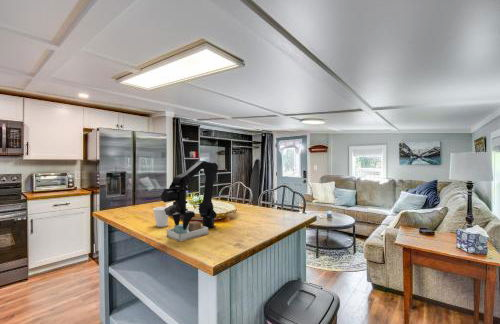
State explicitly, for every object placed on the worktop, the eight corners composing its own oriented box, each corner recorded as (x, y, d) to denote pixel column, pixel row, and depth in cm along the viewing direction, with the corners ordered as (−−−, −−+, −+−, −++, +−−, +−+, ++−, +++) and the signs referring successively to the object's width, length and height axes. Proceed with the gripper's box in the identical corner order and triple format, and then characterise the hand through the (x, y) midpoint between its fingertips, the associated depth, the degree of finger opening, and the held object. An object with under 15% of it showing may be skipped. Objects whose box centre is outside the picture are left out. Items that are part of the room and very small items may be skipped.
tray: (195, 229, 150) (195, 223, 150) (208, 233, 141) (208, 227, 141) (166, 236, 137) (166, 229, 137) (179, 241, 128) (179, 234, 128)
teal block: (174, 235, 135) (174, 225, 135) (182, 233, 139) (182, 224, 139) (178, 237, 132) (178, 227, 132) (187, 234, 136) (187, 225, 135)
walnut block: (188, 231, 142) (188, 222, 142) (195, 229, 146) (195, 220, 146) (193, 233, 139) (193, 224, 138) (201, 231, 142) (201, 222, 142)
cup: (164, 228, 152) (164, 210, 151) (149, 227, 154) (149, 209, 153) (172, 224, 161) (172, 207, 161) (158, 223, 163) (158, 206, 163)
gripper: (158, 199, 136) (158, 228, 136) (176, 203, 123) (176, 235, 123) (176, 197, 144) (176, 224, 144) (195, 200, 131) (195, 230, 131)
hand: (180, 228), depth 135 cm, fingers open, 7 cm apart
